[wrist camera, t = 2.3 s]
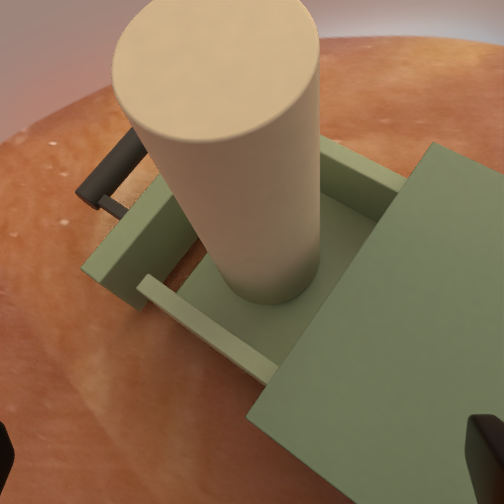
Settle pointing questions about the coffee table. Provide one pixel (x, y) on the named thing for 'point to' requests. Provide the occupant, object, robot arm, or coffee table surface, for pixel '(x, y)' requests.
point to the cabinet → (403, 346)
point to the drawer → (206, 273)
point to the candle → (233, 130)
